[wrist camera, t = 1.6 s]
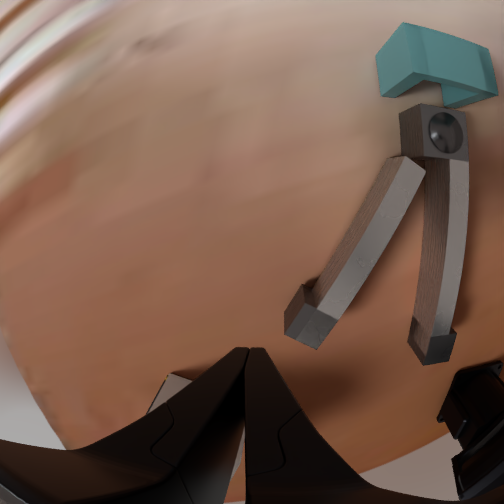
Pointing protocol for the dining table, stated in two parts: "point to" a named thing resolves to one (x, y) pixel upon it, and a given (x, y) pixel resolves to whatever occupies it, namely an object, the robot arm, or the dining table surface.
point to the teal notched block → (435, 65)
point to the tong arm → (354, 254)
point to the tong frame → (438, 223)
